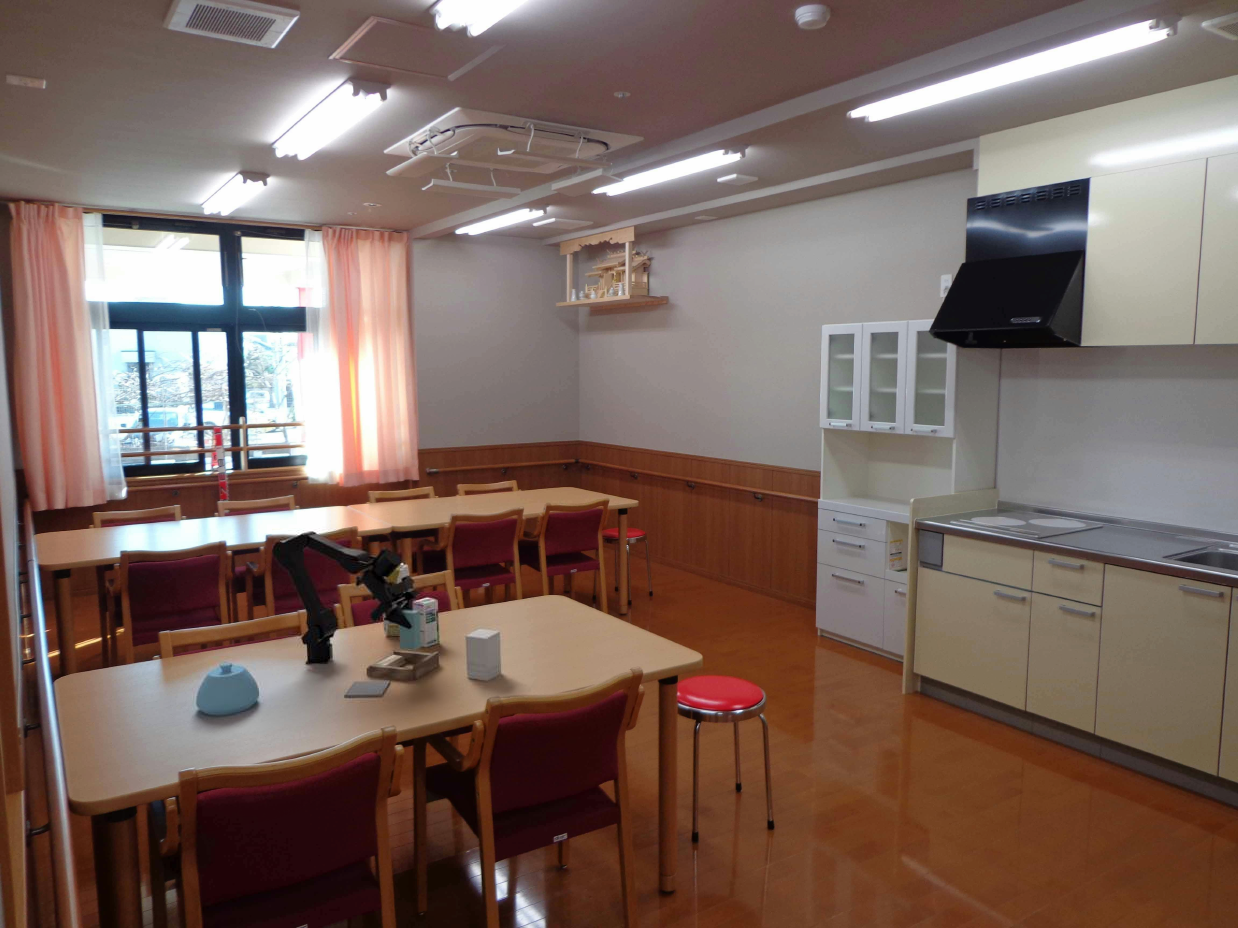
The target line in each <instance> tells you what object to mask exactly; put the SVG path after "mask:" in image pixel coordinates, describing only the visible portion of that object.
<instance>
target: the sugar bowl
mask: <svg viewBox="0 0 1238 928" xmlns="http://www.w3.org/2000/svg"><path fill="white" fill-rule="evenodd" d="M259 697H260V689H259V686H258V682H257V681H256V679H255V677H254V676H253V675H252V674H251V673H250V671H249V670H248V669H247V668H246V667H245V666H243V665H236V664H235V665H234V664H233V663H232V662H223V663H220V665H219V667H216V668H213V669H211V670H210V671H209V672H208V673H206V675H205V677H204V678H203V680H202V682H201V684H200V686H199V687H198V691H197V694H196V700H195V703H196V705H195V706H196V707H197V708H198V709H199V710H200V711H201V712H202V713H204V714H205V715H208V716H215V717H217V716H219V717H220V716H222V717H223V716H229V715H234V714H238V713H241V712H243V711H247V710H248V709H250V708H251V707H253V706H254V705H255V703H256V701H257V700H258V699H259Z"/></svg>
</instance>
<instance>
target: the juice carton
mask: <svg viewBox="0 0 1238 928" xmlns="http://www.w3.org/2000/svg"><path fill="white" fill-rule="evenodd" d="M408 575H409V576H410V570H409V565H408V564H404V563H403V562H402V563H401V564H400V565H399V567H398V568H397V569H396V570H395V571H394V572H393V573H392V574H391V575H390V576H389V577H385V578H386V580H387V581H388V582H394V583H395V584H398V583H400V582H402V578H403V577H405V576H408ZM409 590H410V589H409ZM404 593H405V592H404ZM385 617H386V616H385V613H384V614H383V615H382V621H383V623H382V624H383V630H384V631H383V632H384V635H385V637H400V630H399V625H398V624H395V623H393V622H390V621H387V620H385V621H384V618H385Z"/></svg>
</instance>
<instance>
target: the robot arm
mask: <svg viewBox="0 0 1238 928" xmlns="http://www.w3.org/2000/svg"><path fill="white" fill-rule="evenodd" d="M307 548H308V549H310V550H313V551H314V552H317V553H319V554H321V555H322V556H325V557H326V558H329V559H331V560H333V561H335V562H336V563H338V564H339V566H340V567H341V569H343V570H344V571H346V572H347V573H349V574H350V575H357V574H359V573H362V572H363V574H362V575H358V576H356V577H355V579H356V582H355V586H356V587H359V586H361V585H364V587H366V589H367V590H368V591H369V592H370V593H371V595H372V596H371V599H372V601H375V600H377V601H378V603H379V604H378V605H377V606H376V607H375V608H374V609H373V610H372V611H371V612H370V613H369V617H370V618H369V619H370V620H371V621H372V623H374V624H375V623H377V622H379V621H381V618H382V617H383V614H384V613H385V616H386V617H385V618H384V621H385V620H387V621H390V622H393V623H395V624H398V625H400V626H403V627H405V628H407V629H411V628H412V626H411V624H410V622H409V621H408V620H407V618H406V617H405V616H404V614H403V613H402V610H404V609H406V610H413V601H415V599H416V598H417V597H418V596H419V595H420V592H419V591H418V590H417V589H416V588H415V587H414V583H415V580H414V579H413V578H412V577H411V576H410V574H409V575H408V576H405V577H403V578H402V582H400V583H398V584H395V583H394V582H388V581H387V580H386V578H385V577H389V576H390V575H391V574H392V573H393V572H394V571H395V570H396V569H397V568H398V567H399V565H400V564H401V563H403V560H402V558H401V556H400V555H399V554H398V553H396V552H395V551H393V550H389V548H387V547H385V548H382V549H381V550H380V551H379V553H378V554H377V555H376V556H375V555H371V554H370V553H369V552H367V551H364V550H361V549H357V548H355V549H354V548H347V547H345V546H343V545H341V544H340V543H337V542H334V541H332V540H330V539H328V538H326V537H324V536H322V535H320V534H319V533H318V534H317V532H316V531H313V530H311V531H310V530H309V531H305V532H303V533H301V534H299V535H297V536H295V537H290V538H287V539H283V540H280V541H276V542H275V543H274V545H273V547H272V548H271V552H272V555H273V557H274V559H275V560H276V562H277V563H278V564H279V566H282V567H283V569H285V570H286V571H287V572H288V574H289V577H290V579H291V581H292V584H293V585H294V588H295V590H296V592H297V594H298V597H299V598H300V601H301V603H302V606H303V608H304V609H305V612H306V621H305V622H306V623H305V624H306V627H307V631H306V632H305V633H304V634H303V635H302V636H301V642H302V644H303V645H306V655H307V657H306V658H307V660H306V661H305V664H306V665H309V664H312V665H313V664H315V665H317V664H328V663H329V662H330V661H331V659H332V658H333V657H334V654H333V653H334V652H333V643H331V639H332V638H334V636H335V633H336V631H337V630H338V627H339V623H338V620H339V618H338V617H337V616H336V613H335V611H334V609H333V608H332V607H330V608H327V607H325V606H324V605H323V603H322V601H321V599H320V596H319V594H318V592H317V589H316V588H315V585H314V583H313V581H312V580H311V577H310V575H309V573H308V570H307V568H306V565H305V563H304V560H305V552H304V549H307ZM370 568H371V569H370ZM409 589H410V590H409ZM404 592H405V593H404Z"/></svg>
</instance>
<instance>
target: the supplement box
mask: <svg viewBox="0 0 1238 928" xmlns="http://www.w3.org/2000/svg"><path fill="white" fill-rule="evenodd" d="M465 654H466V656H465V657H466V675H467V676H466V677H467V679H471V680H472V679H473V680H479V681H485V682H489V681H491V680H493V679H494V678H496V677H498V676H499V675H501V674H502V657H501V655H502V654H501V632H500V631H498V630H490V629H483V628H479V629H476V630H474V631H473V632H471V633H469V634H467V635H465Z"/></svg>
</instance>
